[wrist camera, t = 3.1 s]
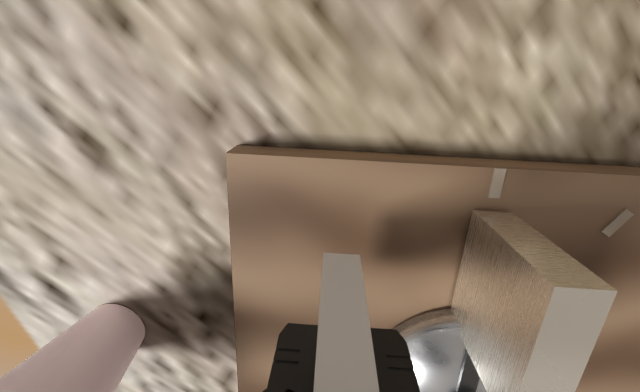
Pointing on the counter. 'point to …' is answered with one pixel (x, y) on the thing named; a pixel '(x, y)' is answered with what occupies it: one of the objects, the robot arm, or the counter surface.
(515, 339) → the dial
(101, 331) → the smoothie
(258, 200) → the panel
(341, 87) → the counter surface
